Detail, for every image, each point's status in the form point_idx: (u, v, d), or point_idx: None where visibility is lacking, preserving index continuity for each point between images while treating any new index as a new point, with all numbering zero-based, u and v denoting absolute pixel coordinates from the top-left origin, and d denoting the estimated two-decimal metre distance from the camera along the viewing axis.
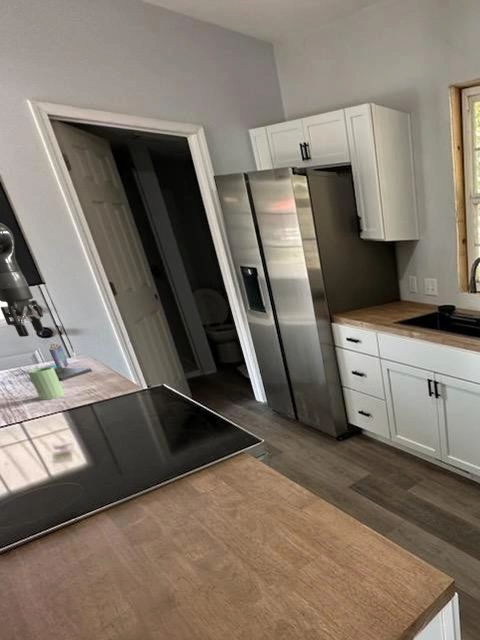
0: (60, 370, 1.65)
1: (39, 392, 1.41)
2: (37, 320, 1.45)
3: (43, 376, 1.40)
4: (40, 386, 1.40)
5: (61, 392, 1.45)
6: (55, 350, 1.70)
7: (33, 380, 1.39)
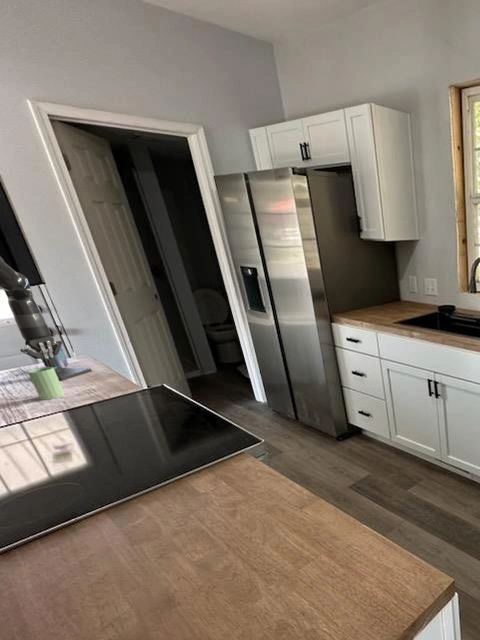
0: (60, 370, 1.65)
1: (39, 392, 1.41)
2: (49, 358, 1.63)
3: (43, 376, 1.40)
4: (40, 386, 1.40)
5: (61, 392, 1.45)
6: None
7: (33, 380, 1.39)
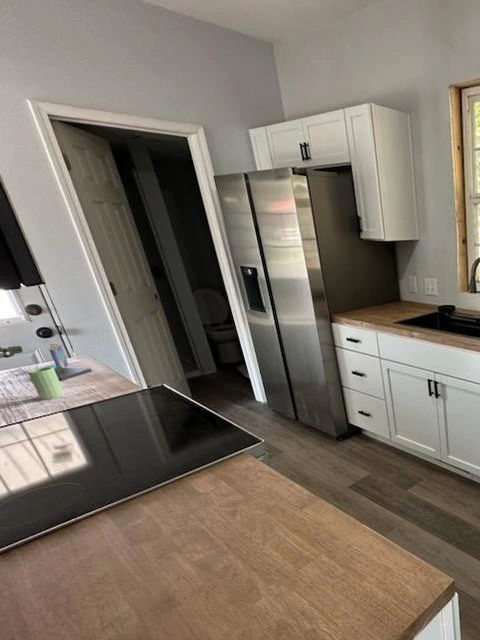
0: (60, 370, 1.65)
1: (39, 392, 1.41)
2: None
3: (43, 376, 1.40)
4: (40, 386, 1.40)
5: (61, 392, 1.45)
6: (55, 350, 1.70)
7: (33, 380, 1.39)
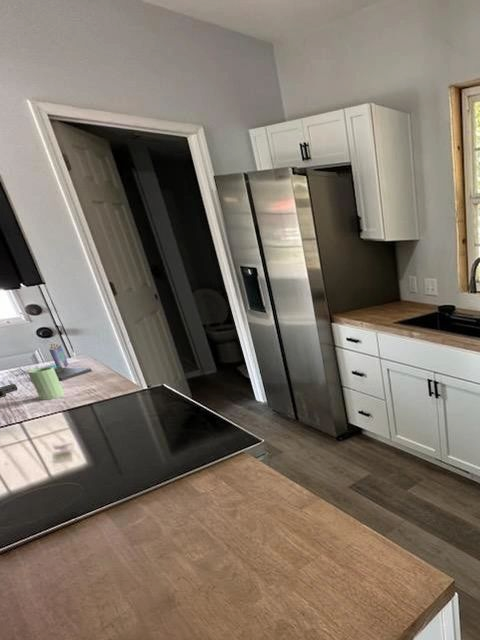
0: (60, 370, 1.65)
1: (39, 392, 1.41)
2: None
3: (43, 376, 1.40)
4: (40, 386, 1.40)
5: (61, 392, 1.45)
6: (55, 350, 1.70)
7: (33, 380, 1.39)
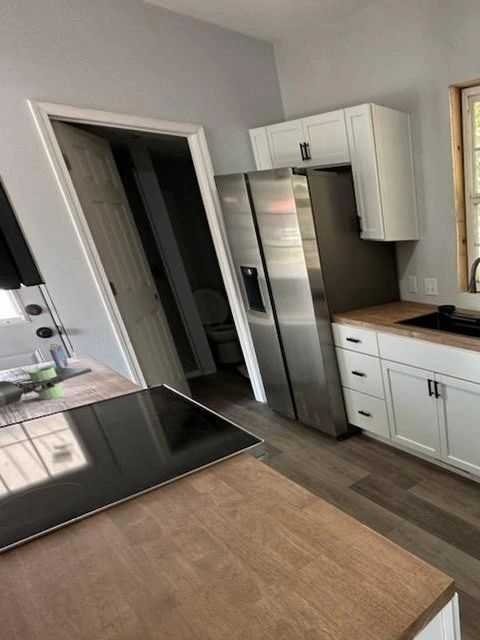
0: (60, 370, 1.65)
1: (39, 392, 1.41)
2: None
3: (43, 376, 1.40)
4: None
5: (61, 392, 1.45)
6: (55, 350, 1.70)
7: (33, 380, 1.39)
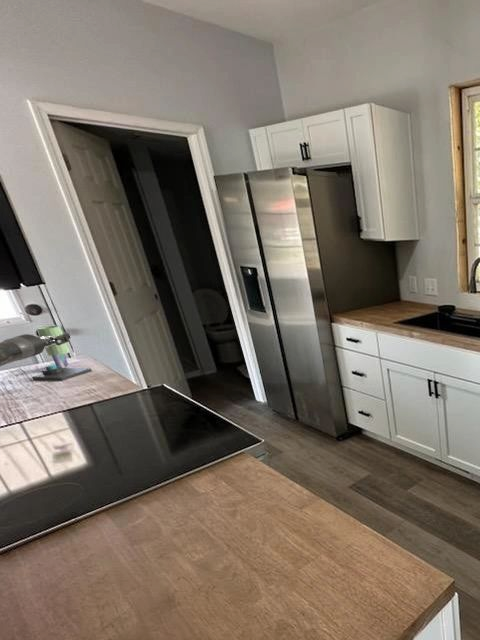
0: (60, 370, 1.65)
1: (50, 348, 1.52)
2: None
3: (55, 332, 1.51)
4: None
5: (68, 349, 1.56)
6: None
7: None
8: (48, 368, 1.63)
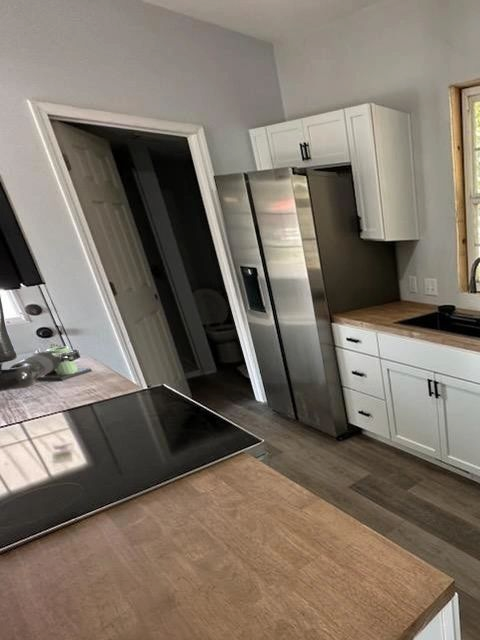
0: None
1: (61, 368, 1.61)
2: None
3: None
4: (62, 362, 1.61)
5: None
6: None
7: None
8: None
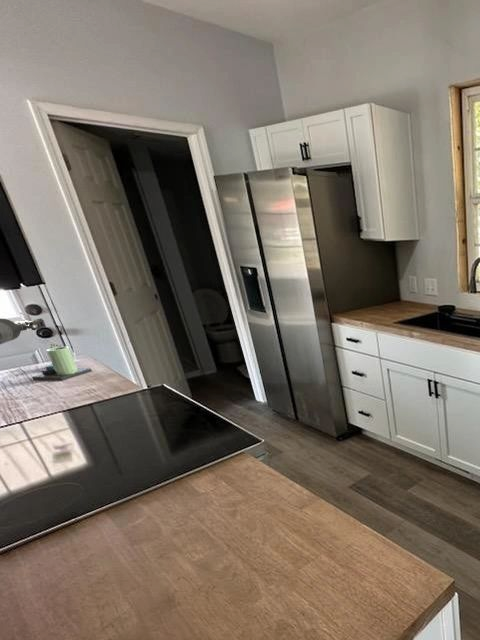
0: None
1: (61, 368, 1.61)
2: None
3: (65, 353, 1.61)
4: (62, 362, 1.61)
5: None
6: None
7: (55, 357, 1.59)
8: (48, 368, 1.63)
